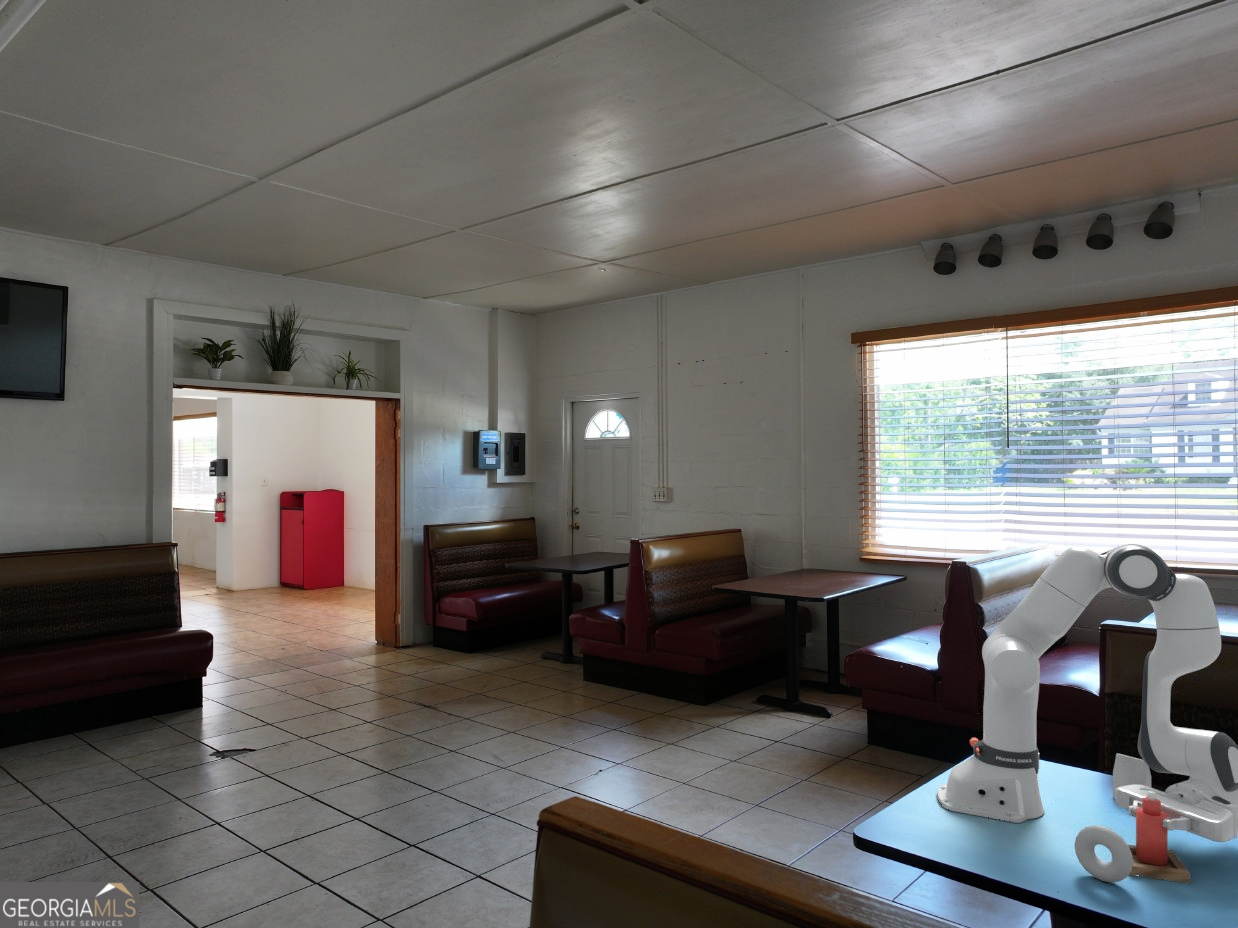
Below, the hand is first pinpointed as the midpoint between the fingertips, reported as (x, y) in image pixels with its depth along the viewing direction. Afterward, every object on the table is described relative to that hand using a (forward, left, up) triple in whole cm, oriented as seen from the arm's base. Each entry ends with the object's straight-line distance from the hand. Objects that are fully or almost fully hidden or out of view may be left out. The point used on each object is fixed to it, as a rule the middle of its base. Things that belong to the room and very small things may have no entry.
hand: (1148, 818), depth 161 cm
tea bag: (+7, +37, -10) cm, 38 cm away
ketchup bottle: (+1, +1, -8) cm, 8 cm away
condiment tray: (+1, +1, -9) cm, 10 cm away
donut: (-10, -8, -10) cm, 16 cm away
